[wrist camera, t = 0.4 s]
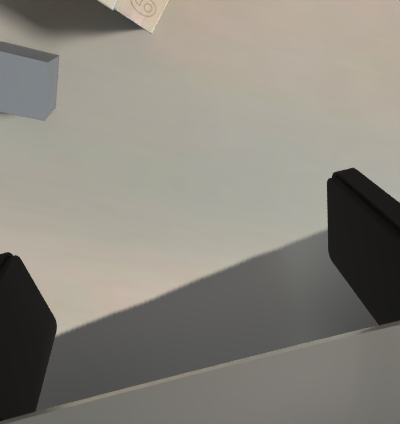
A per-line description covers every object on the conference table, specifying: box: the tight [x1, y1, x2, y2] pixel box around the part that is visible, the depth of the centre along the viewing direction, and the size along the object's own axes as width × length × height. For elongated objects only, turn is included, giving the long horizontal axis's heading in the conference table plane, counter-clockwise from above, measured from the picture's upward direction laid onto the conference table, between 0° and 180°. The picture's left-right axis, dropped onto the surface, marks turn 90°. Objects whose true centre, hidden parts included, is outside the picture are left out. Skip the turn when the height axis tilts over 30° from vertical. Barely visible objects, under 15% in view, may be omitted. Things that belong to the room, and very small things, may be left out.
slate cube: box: [0, 42, 59, 121], centre depth 33 cm, size 5×5×5 cm
